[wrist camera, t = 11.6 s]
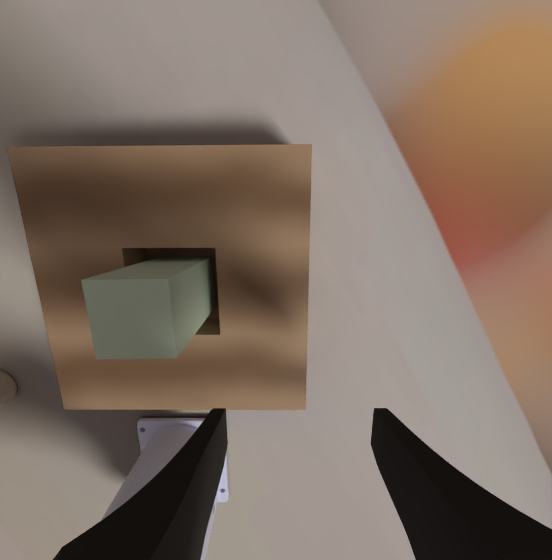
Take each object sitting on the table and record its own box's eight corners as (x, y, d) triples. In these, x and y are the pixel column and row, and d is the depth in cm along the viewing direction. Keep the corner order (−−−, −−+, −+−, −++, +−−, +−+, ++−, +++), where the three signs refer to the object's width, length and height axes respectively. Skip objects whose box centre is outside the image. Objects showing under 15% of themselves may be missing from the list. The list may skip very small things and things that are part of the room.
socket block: (300, 377, 23) (305, 409, 19) (100, 377, 23) (64, 409, 19) (304, 160, 19) (311, 144, 15) (62, 162, 19) (6, 146, 15)
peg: (215, 306, 20) (177, 358, 13) (165, 306, 20) (95, 359, 13) (212, 256, 19) (168, 278, 12) (159, 256, 19) (81, 280, 12)
